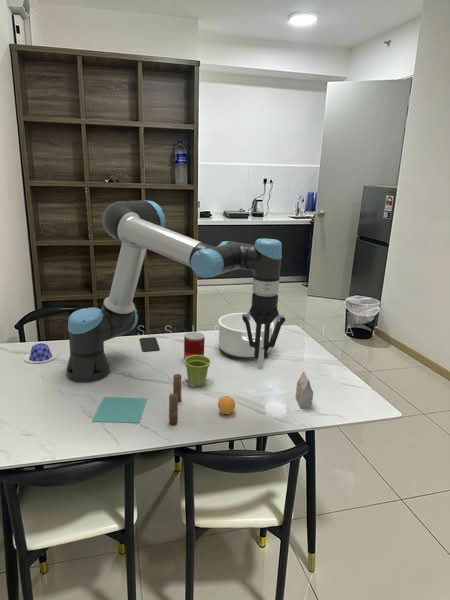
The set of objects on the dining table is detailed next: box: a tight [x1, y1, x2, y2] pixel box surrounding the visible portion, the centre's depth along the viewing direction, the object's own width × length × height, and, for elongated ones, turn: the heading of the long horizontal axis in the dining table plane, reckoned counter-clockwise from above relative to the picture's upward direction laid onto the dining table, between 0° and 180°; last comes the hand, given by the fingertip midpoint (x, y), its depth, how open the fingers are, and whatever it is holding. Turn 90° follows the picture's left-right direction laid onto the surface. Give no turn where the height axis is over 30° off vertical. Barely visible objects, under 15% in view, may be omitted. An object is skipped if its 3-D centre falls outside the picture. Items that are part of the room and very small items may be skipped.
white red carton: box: [295, 371, 314, 410], centre depth 137 cm, size 4×7×10 cm, turn 4°
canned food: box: [183, 331, 206, 361], centre depth 164 cm, size 8×8×11 cm
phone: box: [139, 336, 161, 353], centre depth 179 cm, size 7×1×15 cm
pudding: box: [23, 342, 58, 364], centre depth 162 cm, size 12×12×5 cm
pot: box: [217, 312, 275, 360], centre depth 175 cm, size 33×23×14 cm
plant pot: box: [183, 355, 212, 387], centre depth 147 cm, size 9×9×9 cm
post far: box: [172, 373, 182, 404], centre depth 135 cm, size 3×3×9 cm
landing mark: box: [91, 396, 147, 424], centre depth 129 cm, size 14×14×1 cm
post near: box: [168, 393, 179, 426], centre depth 122 cm, size 3×3×9 cm
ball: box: [217, 395, 236, 415], centre depth 130 cm, size 6×6×6 cm
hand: (259, 367), depth 126 cm, fingers closed
